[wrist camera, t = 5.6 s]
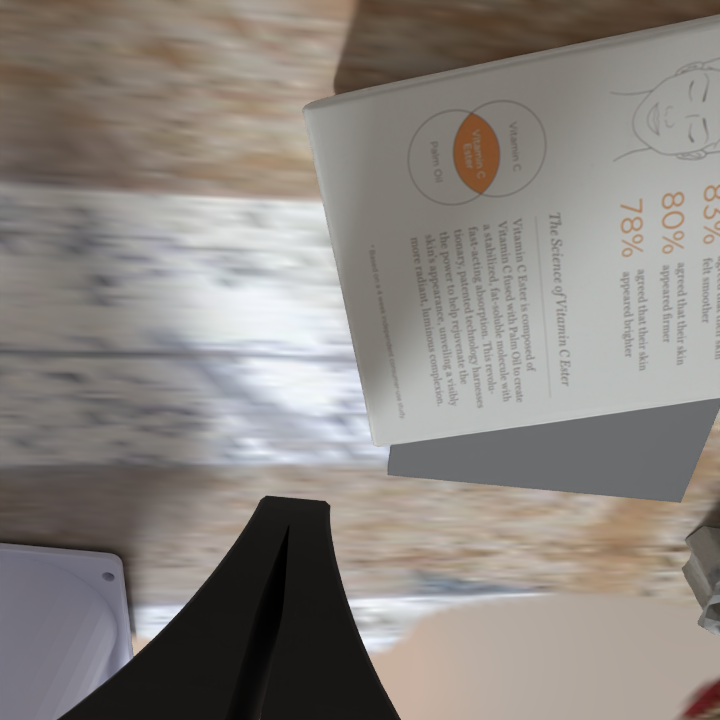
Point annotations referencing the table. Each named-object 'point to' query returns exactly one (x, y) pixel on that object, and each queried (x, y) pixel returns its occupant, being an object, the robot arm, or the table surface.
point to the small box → (530, 233)
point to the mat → (574, 453)
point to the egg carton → (705, 575)
